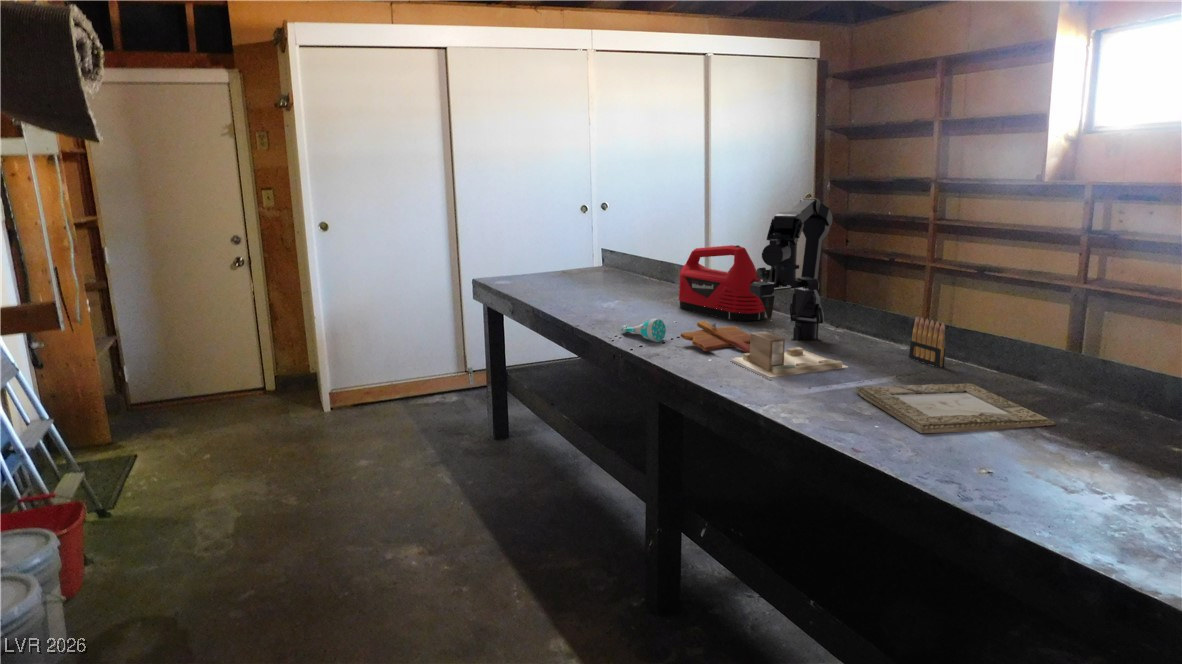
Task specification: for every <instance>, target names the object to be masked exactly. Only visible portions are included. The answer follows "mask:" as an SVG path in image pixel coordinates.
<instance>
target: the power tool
mask: <svg viewBox="0 0 1182 664" xmlns="http://www.w3.org/2000/svg"><path fill="white" fill-rule="evenodd" d="M723 256H724V257H725V256H733V257H734V258H733V264H732V266H731V267H730V268H729V270H727V271H726V270H720V269H715V268H707V267H706V266H704V265H703V264H700V263H699V262H700V259H701V258H709V257H723ZM678 281H679V282H678V283H679V284H678V285H679V286H678V289H679V290H678V300H679V308H681V310H684V309H686V310H685V311H688V310H691V311H690V312H693V311H695V313H697V312H699V313H698V314H701V313H703V314H702V315H705V314H708V315H707V316H710V315H713V316H712V317H714V316H717V317H716V318H719V317H721V318H720V319H723V318H725V319H724V320H728V319H730V320H729V321H733V320H736V321H735V322H739V321H741V322H743V321H745V322H749V321H753V320H754V321H760V320H763V319H765V318H766V312H765V309H764V306H763V303H762V301H761V299H760V298H759V297H758V296H755V295H754V293H750V286H751V284H752V283H753V282H762V280H758V279H757V268H756V266H755V264H754V262H753V260H752V258H751V257H750V255H749V253H748V251H747V248H745V247H743V246H741V245H732V244H731V245H721V246H708V247H707V246H706V247H696V248H694V249H693V250H692V251H691V253H690V254H689V256H688V258H687V261H686V263H685V264H684V265H683V266H682V267H681V269H680V271H679V280H678ZM704 306H705V307H704ZM716 308H717V309H716ZM721 309H722V310H721ZM739 312H740V313H739Z"/></svg>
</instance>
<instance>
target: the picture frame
mask: <svg viewBox="0 0 1182 664" xmlns="http://www.w3.org/2000/svg"><path fill="white" fill-rule="evenodd" d="M854 390H855V393H856V394H858V396H860V397H861V398H863V399H865V400H866V401H868V402H869V403H870V404H872V405H875V406H876V407H877V408H879V409H881V410H882V411H884V412H886V413H887V414H889V415H890V416H892V417H893V418H896V419H897V420H898V421H900V422H901V423H903V424H905V425H907V426H908V427H910V428H912V429H913V430H915V431H916V432H918V433H919V434H939V433H940V434H942V433H958V432H960V433H961V432H977V431H990V430H1003V429H1017V428H1031V427H1032V428H1033V427H1042V426H1044V427H1045V425H1046V426H1055V425H1056V422H1054V421H1053V420H1052V419H1050V418H1047V417H1046V416H1043V415H1041V414H1038V413H1036V412H1034V411H1032V410H1030V409H1028V408H1025V407H1024V406H1022V405H1021V404H1017V403H1015V402H1013V401H1010V400H1008V399H1006V398H1004V397H1002V396H1000V395H999V396H998V394H996V393H993V392H992V391H990V390H987V389H985V388H983V387H981V386H979V385H976V384H974V383H972V382H970V383H968V382H966V383H951V384H950V383H948V384H945V383H943V384H941V383H940V384H936V383H935V384H933V383H930V384H927V383H926V384H909V385H907V384H905V385H901V384H900V385H898V384H893V385H875V386H860V387H859V386H855V388H854Z"/></svg>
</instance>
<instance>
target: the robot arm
mask: <svg viewBox="0 0 1182 664" xmlns="http://www.w3.org/2000/svg"><path fill="white" fill-rule="evenodd" d="M833 219H834V218H833V214H832V211H831V210H830V208H829V207H828V206H826V205H825V204H823V203H822V202H821V201H820V199H819V198H816V197H815V198H814V197H811V198H810V197H804V198H801V199H800V200H799V202H798V203H797V204H796V205H794V206H793V207H792V208H791V209H790V210H788V211H782V212H777V213H776V214H775V215H773V217H772V219H771V222H770V224H769V228H768V229H769V230H768V232H767V237H766V241H769V242H768V243H769V244H768V245H767V244H766V246H765V247H764V248H763V249H762V251H761V258H762V261H763V262H764V263H765V264H766V265H767V266H769V267H770V269H767V268H766V267H758V268H756V271H757V279H758V280H761V282H753V283H752V284H751V286H750V293H754V295H755V296H758V297H759V298H760V299H761V301H762V303H763V306H764V309H765V316H766V318H767V319H769V320H771V319H772V316H773V309H774V305H775V304H774V302H775V297H776V296H775V295H774V292H775V291H783V290H790V289H793V291H794V293H793V294H792V299H791V302H790V305H789V315H790V321H791V322H794V326H793V336H792V337H791V338H790V341H793V342H794V341H795V342H796V341H797V342H800V341H801V342H802V341H803V342H804V341H805V342H811V341H816V340H818V339H819V325H820V324H824V320H825V313H824V309H823V306H822V304H821V300H822V299H821V297H820V294H819V292H818V291H817V290H819V288H820V283H819V280H818V278H819V277H818V276H819V270H820V269H819V268H820V260H821V253H822V246H823V244H822V242H823V240H824V239H825V237H827V235H828V234H829V232H830V228H831V226H832V223H833ZM802 233H803V235H804V237H805V245H804V253H803V259H802V260H803V261H802V268H801V269H802V270H801V276H800V277H797V270H799V269H800V265H799V264H797V261H798V260H797V258H798V257H797V255H798V254H797V253H798V242H799V239H800V237H801V235H802Z"/></svg>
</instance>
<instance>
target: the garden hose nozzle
mask: <svg viewBox="0 0 1182 664" xmlns="http://www.w3.org/2000/svg"><path fill="white" fill-rule="evenodd" d="M620 331H621V333H622V332H623V333H633V334H637V335H641V336H642V337H643V338H644V339H645V340H648V341H650V342H653V343H654V342H655V343H658V342H659V343H660V342H662V341H663V339H664V338H665V336H666V333H667V332H666V331H667V327H666V324H665V322H664V320H662V319H661V318H651V319H648V320H646V321H645V322H644V323H641V324H639V325H636V326H632V327H631V326H628V325H626V324H625V325H622V327H621V328H620Z"/></svg>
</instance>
